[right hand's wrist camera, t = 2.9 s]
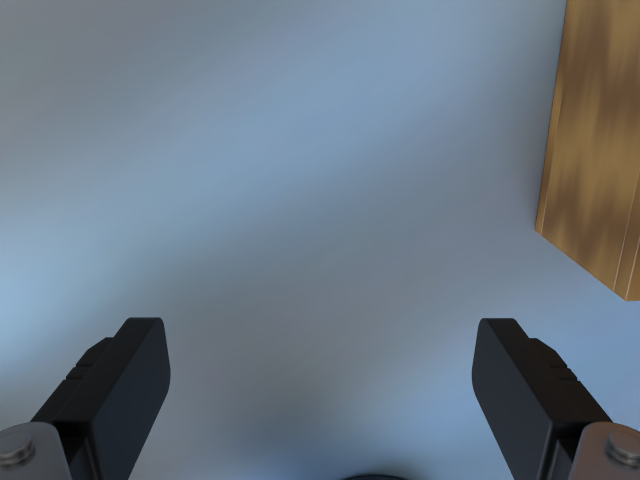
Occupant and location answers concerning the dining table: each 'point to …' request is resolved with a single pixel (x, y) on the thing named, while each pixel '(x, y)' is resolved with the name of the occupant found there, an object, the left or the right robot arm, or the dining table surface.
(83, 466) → the right robot arm
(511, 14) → the dining table surface
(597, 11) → the cabinet
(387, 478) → the left robot arm
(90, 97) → the dining table surface
